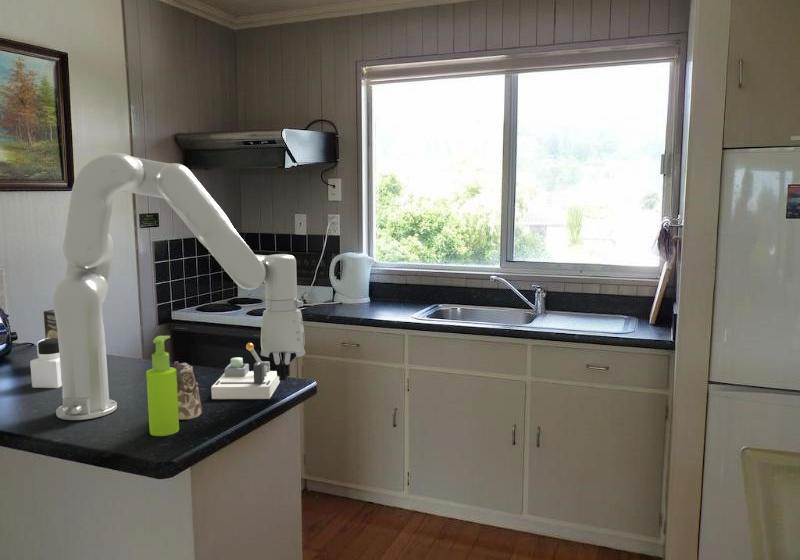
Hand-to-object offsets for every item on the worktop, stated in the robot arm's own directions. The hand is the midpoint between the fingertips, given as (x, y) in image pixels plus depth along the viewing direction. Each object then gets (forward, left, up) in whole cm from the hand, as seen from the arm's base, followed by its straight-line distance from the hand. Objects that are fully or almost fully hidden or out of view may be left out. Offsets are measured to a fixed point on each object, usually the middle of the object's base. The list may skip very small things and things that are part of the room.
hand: (283, 379), depth 165 cm
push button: (+8, +13, 0) cm, 16 cm away
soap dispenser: (-24, +21, -4) cm, 32 cm away
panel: (+4, +10, -4) cm, 12 cm away
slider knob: (0, +6, -1) cm, 6 cm away
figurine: (-14, +20, -4) cm, 25 cm away
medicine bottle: (+10, +62, -4) cm, 63 cm away
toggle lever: (+9, +6, 0) cm, 11 cm away
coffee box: (+29, +68, -4) cm, 74 cm away
